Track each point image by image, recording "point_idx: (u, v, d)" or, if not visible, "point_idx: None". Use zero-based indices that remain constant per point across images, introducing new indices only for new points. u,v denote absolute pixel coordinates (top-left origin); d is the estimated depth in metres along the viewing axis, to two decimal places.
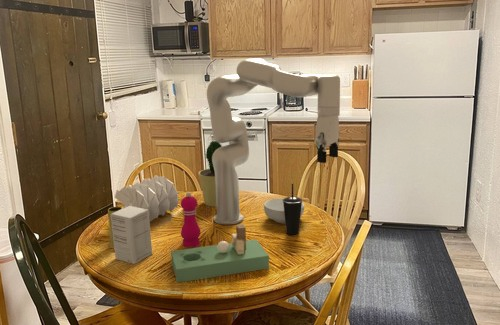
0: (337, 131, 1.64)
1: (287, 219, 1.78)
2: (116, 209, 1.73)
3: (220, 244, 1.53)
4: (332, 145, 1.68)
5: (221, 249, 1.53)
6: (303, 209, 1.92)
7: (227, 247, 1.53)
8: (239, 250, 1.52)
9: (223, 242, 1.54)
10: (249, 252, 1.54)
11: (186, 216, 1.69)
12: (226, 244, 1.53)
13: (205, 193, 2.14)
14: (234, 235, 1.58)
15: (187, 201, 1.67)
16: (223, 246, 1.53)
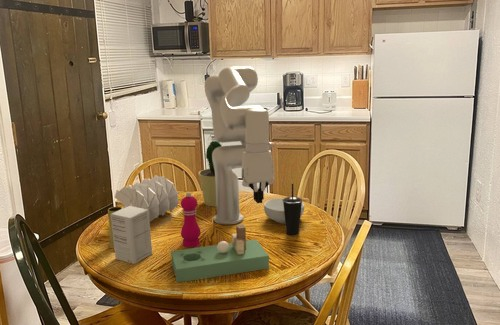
0: (267, 170, 1.50)
1: (287, 219, 1.78)
2: (116, 209, 1.73)
3: (220, 244, 1.53)
4: None
5: (221, 249, 1.53)
6: (303, 209, 1.92)
7: (227, 247, 1.53)
8: (239, 250, 1.52)
9: (223, 242, 1.54)
10: (249, 252, 1.54)
11: (186, 216, 1.69)
12: (226, 244, 1.53)
13: (205, 193, 2.14)
14: (234, 235, 1.58)
15: (187, 201, 1.67)
16: (223, 246, 1.53)
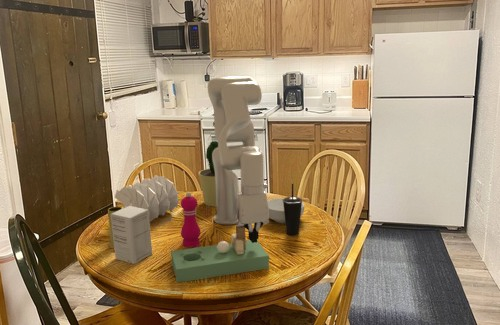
0: (262, 211, 1.53)
1: (287, 219, 1.78)
2: (116, 209, 1.73)
3: (220, 244, 1.53)
4: None
5: (221, 249, 1.53)
6: (303, 209, 1.92)
7: (227, 247, 1.53)
8: (239, 250, 1.52)
9: (223, 242, 1.54)
10: (249, 252, 1.54)
11: (186, 216, 1.69)
12: (226, 244, 1.53)
13: (205, 193, 2.14)
14: (234, 235, 1.58)
15: (187, 201, 1.67)
16: (223, 246, 1.53)
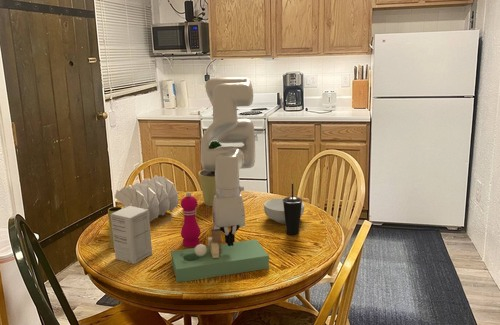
0: (238, 214, 1.51)
1: (287, 219, 1.78)
2: (116, 209, 1.73)
3: None
4: None
5: (204, 250, 1.51)
6: (303, 209, 1.92)
7: (199, 255, 1.51)
8: (214, 254, 1.50)
9: None
10: (249, 252, 1.54)
11: (186, 216, 1.69)
12: None
13: (205, 193, 2.14)
14: (210, 238, 1.55)
15: (187, 201, 1.67)
16: (203, 253, 1.51)
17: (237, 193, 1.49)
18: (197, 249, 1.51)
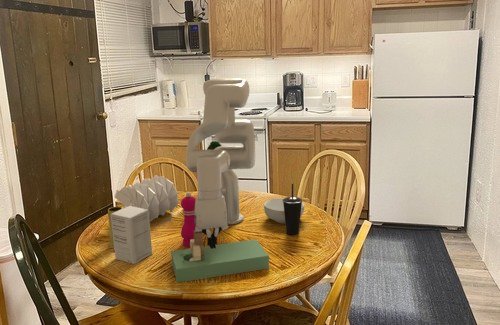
0: (220, 216, 1.49)
1: (287, 219, 1.78)
2: (116, 209, 1.73)
3: None
4: None
5: None
6: (303, 209, 1.92)
7: None
8: (196, 256, 1.48)
9: None
10: (249, 252, 1.54)
11: (186, 216, 1.69)
12: None
13: None
14: (192, 241, 1.54)
15: (187, 201, 1.67)
16: None
17: (219, 195, 1.47)
18: None
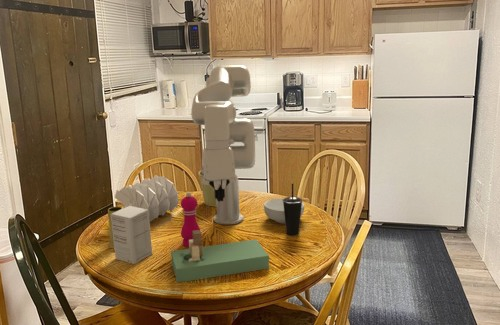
0: (228, 167, 1.47)
1: (287, 219, 1.78)
2: (116, 209, 1.73)
3: None
4: (219, 184, 1.50)
5: None
6: (303, 209, 1.92)
7: None
8: (194, 256, 1.48)
9: None
10: (249, 252, 1.54)
11: (186, 216, 1.69)
12: None
13: (205, 193, 2.14)
14: (191, 241, 1.54)
15: (187, 201, 1.67)
16: None
17: (227, 145, 1.44)
18: None
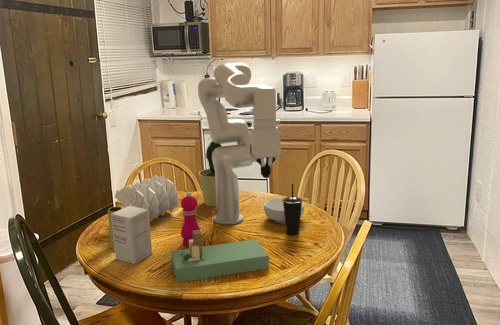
0: (274, 146, 1.57)
1: (287, 219, 1.78)
2: (116, 209, 1.73)
3: (192, 259, 1.52)
4: None
5: None
6: (303, 209, 1.92)
7: None
8: (194, 256, 1.48)
9: None
10: (249, 252, 1.54)
11: (186, 216, 1.69)
12: None
13: (205, 193, 2.14)
14: (191, 241, 1.54)
15: (187, 201, 1.67)
16: None
17: (274, 124, 1.54)
18: None
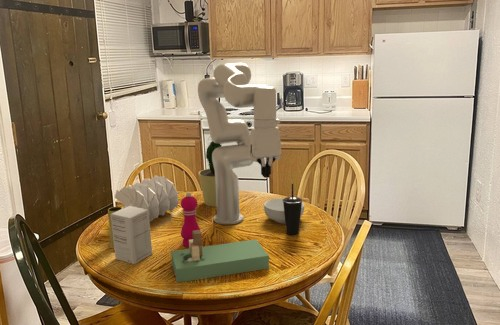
0: (275, 145, 1.57)
1: (287, 219, 1.78)
2: (116, 209, 1.73)
3: (191, 260, 1.52)
4: (266, 162, 1.60)
5: None
6: (303, 209, 1.92)
7: None
8: (194, 256, 1.48)
9: None
10: (249, 252, 1.54)
11: (186, 216, 1.69)
12: None
13: (205, 193, 2.14)
14: (191, 241, 1.54)
15: (187, 201, 1.67)
16: None
17: (274, 124, 1.54)
18: None
